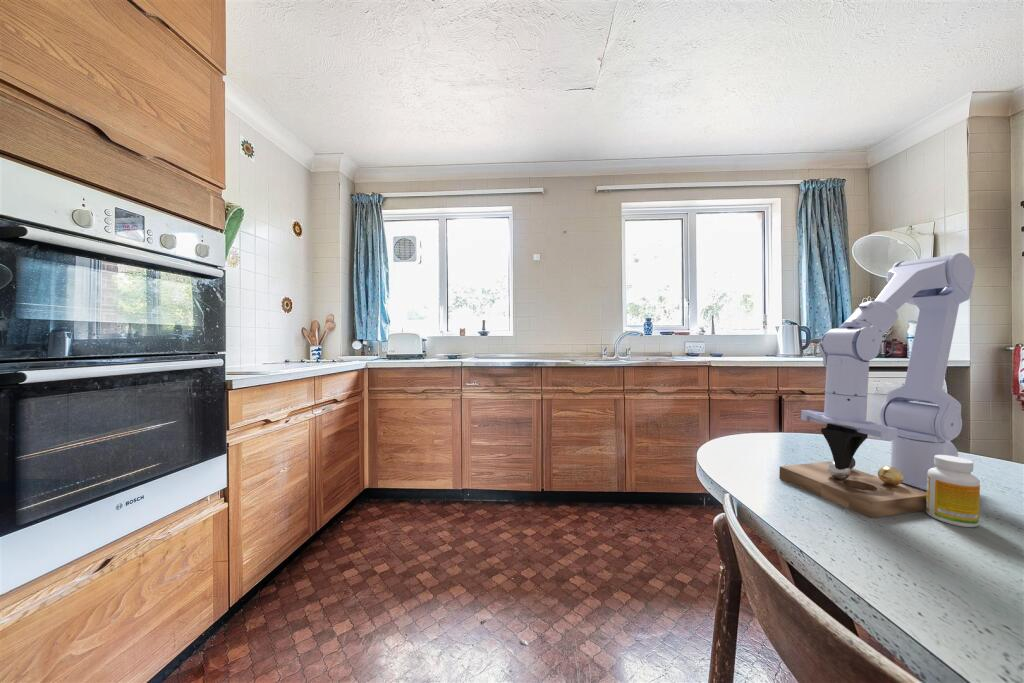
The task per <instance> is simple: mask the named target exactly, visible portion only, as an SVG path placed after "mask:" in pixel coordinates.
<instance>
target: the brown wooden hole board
mask: <svg viewBox="0 0 1024 683" xmlns="http://www.w3.org/2000/svg"><path fill="white" fill-rule="evenodd" d="M831 462H832V461H820V462H812V463H802V464H801V463H800V464H791V465H790V464H789V465H780V466H779V474H778V475H779V477H778V478H779V479H780V480H781V481H784V482H786V483H789V484H791V485H794V486H796V487H798V488H801V489H803V490H805V491H808V492H810V493H812V494H814V495H817V496H819V497H821V498H824V499H826V500H828V501H830V502H832V503H836V504H837V505H840V506H842V507H845V508H847V509H848V510H849V509H850V510H852V511H854V512H856V513H857V514H861V515H863V516H865V517H868V518H871V519H873V518H879V517H881V518H882V517H887V516H895V515H899V514H901V515H902V514H909V513H914V512H915V513H916V512H923V511H926V497H927V492H925V491H923V490H922V491H921V490H919V489H916V488H912V487H911V486H906V485H904V484H902V483H901V484H899V485H894V486H893V485H888V484H885V483H884V482H882V481H881V480H880V479H879V477H878V475H873V474H870V473H867V472H865V471H861V470H858V469H854V468H852V469H850V472H851V473H850V476H849V477H848V478H847V479H843V480H840V479H836V478H834V477H832V476H831V475H830V474H829V472H828V469H827V468H828V465H829V464H830V463H831Z"/></svg>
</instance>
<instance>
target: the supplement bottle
mask: <svg viewBox="0 0 1024 683" xmlns="http://www.w3.org/2000/svg"><path fill="white" fill-rule="evenodd" d="M934 464H935V465H936V467H935V468H931V469H929V470H928V473H927V490H926V493H927V497H926V510H925V511H926V512H925V513H926V514H927V515H928V516H930V517H931V518H933V519H935V520H938V521H941V522H943V523H947V524H950V525H953V526H957V527H963V528H976V527H978V526H979V522H980V498H981V496H980V492H981V490H980V489H981V482H980V479H979V478H978V477H977V476H976V475H974V474H973V472H974V461H973V460H970V459H967V458H963V457H959V456H958V457H955V456H948V455H935V456H934Z"/></svg>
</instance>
